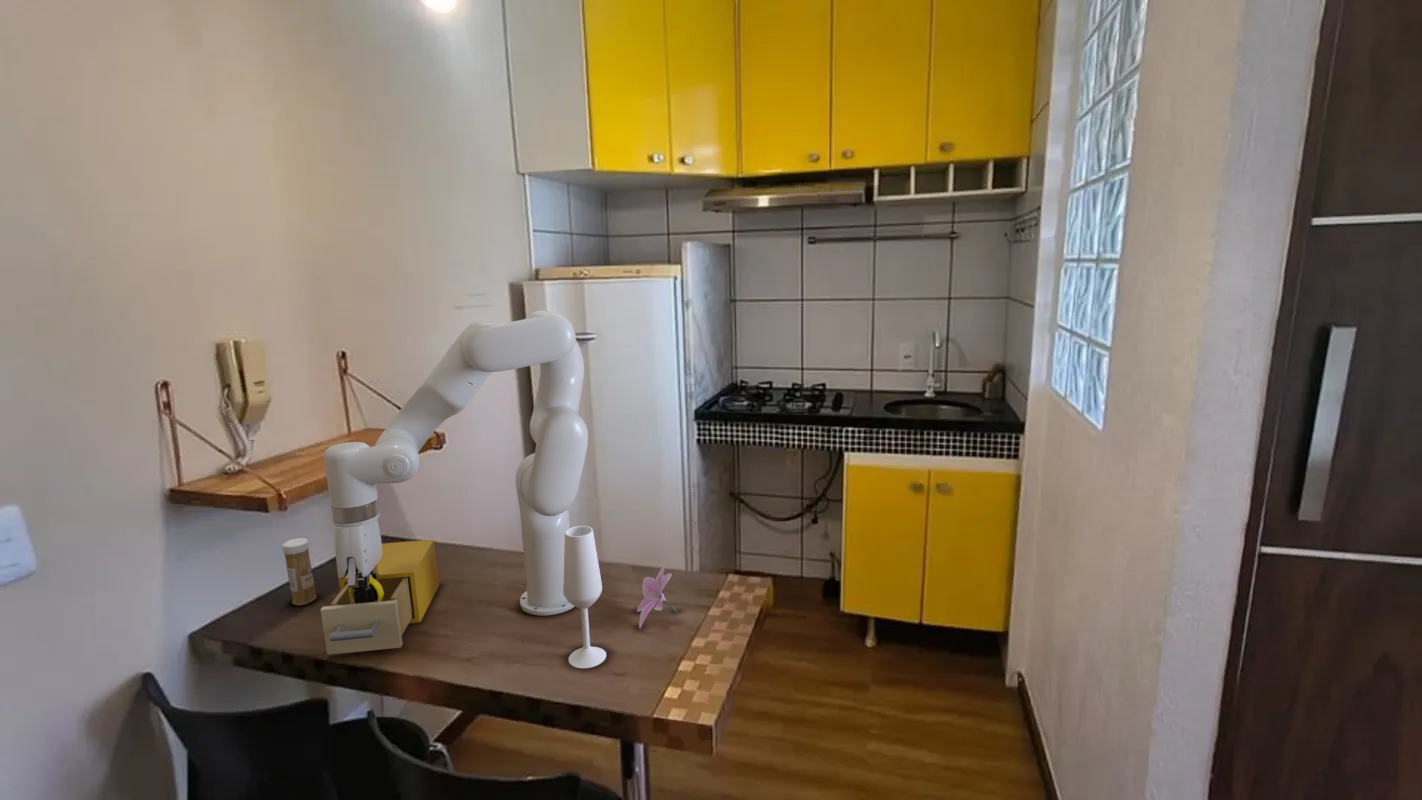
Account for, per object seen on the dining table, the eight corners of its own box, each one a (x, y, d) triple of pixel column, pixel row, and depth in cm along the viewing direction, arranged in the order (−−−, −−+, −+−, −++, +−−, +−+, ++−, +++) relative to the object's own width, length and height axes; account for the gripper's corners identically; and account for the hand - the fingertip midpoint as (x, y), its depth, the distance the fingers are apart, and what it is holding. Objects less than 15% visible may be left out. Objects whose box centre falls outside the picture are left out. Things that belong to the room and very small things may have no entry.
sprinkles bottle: (317, 602, 142) (308, 542, 139) (292, 608, 140) (282, 548, 137) (316, 593, 146) (307, 535, 143) (291, 599, 143) (281, 540, 141)
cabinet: (420, 622, 133) (413, 572, 131) (345, 629, 131) (338, 578, 129) (439, 585, 148) (434, 539, 146) (373, 591, 147) (366, 544, 144)
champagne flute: (599, 669, 117) (590, 540, 112) (562, 666, 118) (552, 538, 113) (611, 648, 123) (604, 524, 118) (576, 645, 124) (567, 522, 119)
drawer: (393, 662, 119) (387, 615, 117) (316, 669, 117) (309, 623, 115) (422, 607, 137) (417, 567, 135) (356, 613, 135) (350, 572, 133)
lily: (649, 600, 142) (626, 568, 138) (699, 584, 138) (676, 552, 135) (639, 646, 132) (613, 613, 128) (691, 631, 128) (667, 597, 124)
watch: (387, 603, 126) (384, 574, 125) (378, 611, 124) (375, 581, 122) (358, 601, 127) (354, 572, 126) (348, 609, 124) (344, 579, 123)
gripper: (350, 497, 129) (362, 586, 132) (314, 530, 113) (329, 629, 117) (391, 494, 130) (402, 582, 134) (362, 526, 114) (375, 625, 118)
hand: (368, 603), depth 125 cm, fingers closed on watch, 2 cm apart
